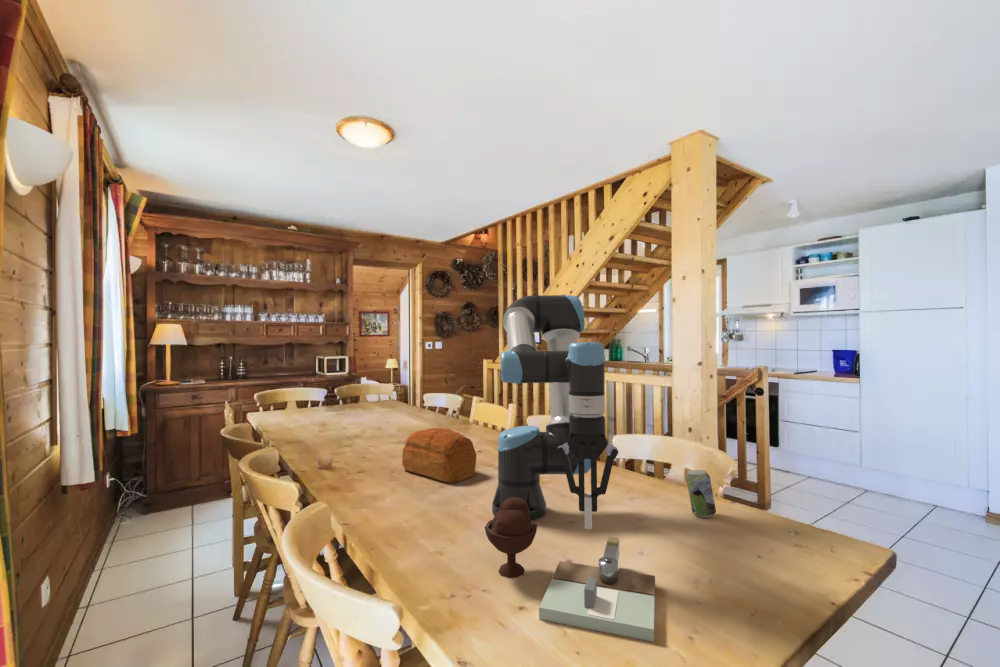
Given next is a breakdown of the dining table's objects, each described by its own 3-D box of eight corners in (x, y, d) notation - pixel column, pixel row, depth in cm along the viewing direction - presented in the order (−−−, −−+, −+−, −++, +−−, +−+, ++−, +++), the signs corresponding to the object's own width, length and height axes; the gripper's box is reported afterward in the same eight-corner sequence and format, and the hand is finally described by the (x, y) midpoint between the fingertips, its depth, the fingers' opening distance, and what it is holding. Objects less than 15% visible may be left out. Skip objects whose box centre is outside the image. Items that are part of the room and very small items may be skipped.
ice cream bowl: (483, 560, 102) (483, 492, 102) (533, 557, 103) (533, 490, 103) (486, 586, 91) (485, 510, 91) (542, 583, 92) (541, 508, 92)
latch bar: (617, 584, 87) (617, 565, 87) (597, 581, 88) (597, 562, 88) (622, 554, 99) (622, 538, 99) (605, 552, 100) (604, 535, 100)
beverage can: (718, 520, 122) (718, 475, 122) (689, 518, 124) (688, 473, 124) (712, 511, 129) (712, 468, 129) (684, 509, 130) (684, 467, 130)
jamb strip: (552, 587, 90) (552, 575, 90) (559, 570, 97) (559, 559, 97) (654, 605, 84) (654, 593, 84) (655, 585, 91) (655, 574, 91)
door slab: (539, 618, 80) (538, 589, 80) (551, 589, 90) (551, 562, 90) (653, 641, 74) (653, 609, 74) (654, 607, 84) (654, 578, 84)
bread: (447, 486, 153) (447, 438, 153) (397, 471, 170) (397, 428, 170) (481, 474, 165) (480, 430, 165) (431, 461, 182) (431, 421, 182)
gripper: (555, 416, 96) (556, 531, 95) (619, 418, 93) (621, 535, 93) (557, 411, 103) (558, 518, 102) (617, 412, 101) (618, 521, 100)
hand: (588, 526), depth 98 cm, fingers closed
